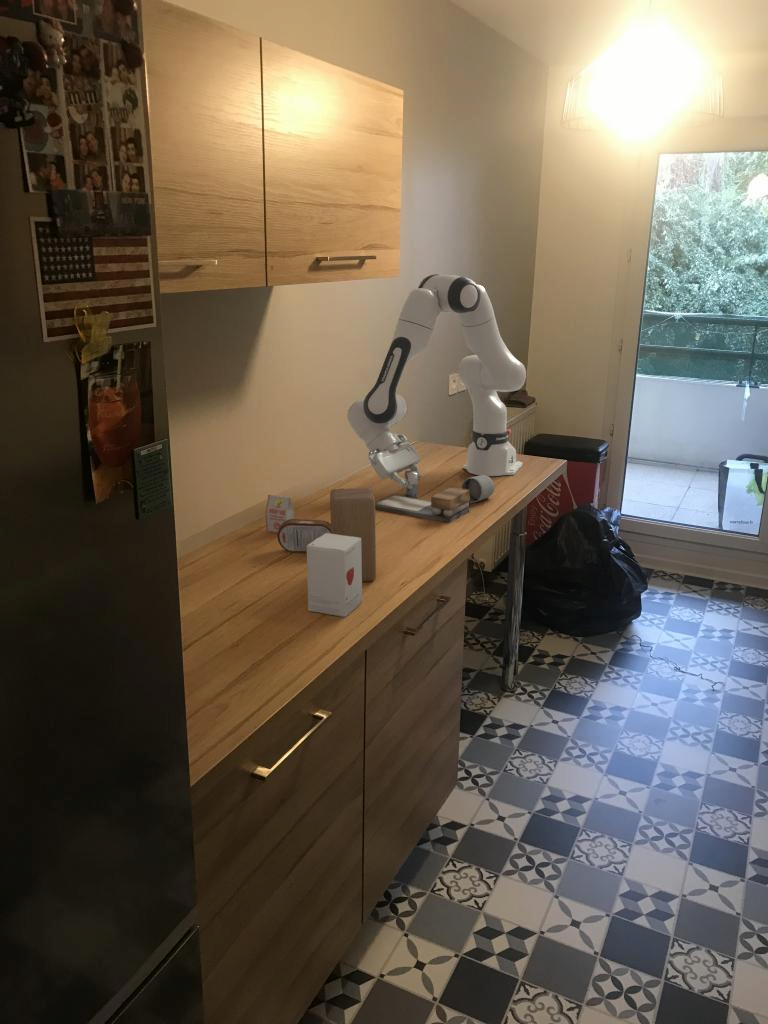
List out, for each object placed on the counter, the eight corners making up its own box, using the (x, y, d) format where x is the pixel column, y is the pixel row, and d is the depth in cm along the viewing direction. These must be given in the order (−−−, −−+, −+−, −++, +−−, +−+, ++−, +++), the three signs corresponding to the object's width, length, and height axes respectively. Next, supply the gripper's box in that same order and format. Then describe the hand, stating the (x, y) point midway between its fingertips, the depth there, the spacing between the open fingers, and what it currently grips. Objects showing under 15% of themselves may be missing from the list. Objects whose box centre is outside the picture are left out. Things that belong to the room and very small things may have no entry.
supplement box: (345, 618, 174) (343, 550, 169) (307, 611, 177) (304, 545, 173) (363, 602, 182) (362, 537, 177) (326, 595, 185) (324, 531, 181)
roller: (408, 494, 260) (408, 469, 257) (420, 496, 258) (420, 471, 255) (402, 497, 257) (402, 472, 254) (413, 499, 255) (413, 474, 252)
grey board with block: (393, 498, 256) (393, 477, 254) (469, 511, 243) (469, 489, 241) (371, 508, 246) (371, 487, 244) (449, 522, 233) (450, 500, 231)
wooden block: (332, 568, 201) (329, 488, 195) (373, 566, 202) (372, 486, 196) (332, 583, 192) (330, 500, 185) (376, 582, 192) (375, 499, 186)
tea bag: (274, 527, 230) (272, 492, 227) (294, 531, 227) (293, 495, 224) (266, 531, 227) (264, 496, 224) (287, 535, 224) (285, 499, 221)
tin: (337, 550, 213) (336, 519, 210) (335, 554, 210) (335, 523, 207) (279, 549, 214) (278, 517, 212) (277, 553, 211) (275, 521, 209)
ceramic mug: (496, 498, 255) (496, 474, 253) (481, 504, 249) (481, 479, 247) (467, 493, 261) (467, 469, 259) (452, 499, 255) (452, 475, 253)
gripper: (371, 446, 247) (400, 483, 245) (407, 434, 264) (434, 468, 262) (359, 459, 251) (387, 495, 249) (395, 446, 268) (421, 480, 265)
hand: (411, 481), depth 256 cm, fingers open, 8 cm apart
